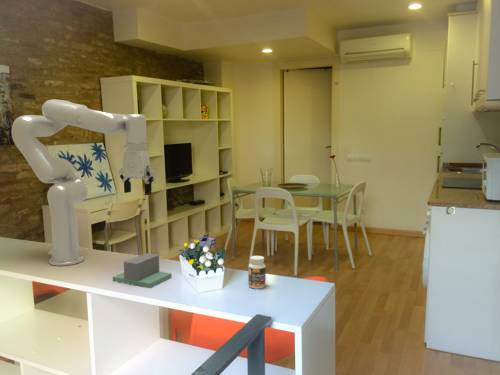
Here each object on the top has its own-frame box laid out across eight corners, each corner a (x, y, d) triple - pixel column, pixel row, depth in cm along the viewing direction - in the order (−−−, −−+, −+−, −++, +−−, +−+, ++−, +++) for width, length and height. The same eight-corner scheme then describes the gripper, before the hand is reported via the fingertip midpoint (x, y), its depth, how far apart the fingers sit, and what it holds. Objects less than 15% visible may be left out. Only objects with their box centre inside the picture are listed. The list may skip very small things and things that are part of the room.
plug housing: (137, 281, 148) (136, 263, 147) (123, 278, 150) (123, 261, 150) (159, 271, 159) (158, 255, 158) (146, 269, 161) (145, 253, 161)
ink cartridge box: (202, 277, 157) (202, 237, 155) (189, 275, 159) (188, 235, 158) (216, 269, 166) (216, 231, 164) (203, 267, 168) (203, 230, 167)
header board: (112, 281, 153) (112, 266, 152) (135, 271, 163) (135, 257, 163) (150, 288, 146) (149, 272, 145) (171, 277, 157) (171, 262, 156)
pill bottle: (252, 290, 144) (253, 260, 143) (245, 284, 149) (245, 256, 148) (268, 287, 147) (268, 258, 146) (260, 282, 152) (260, 254, 151)
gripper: (111, 147, 165) (113, 193, 167) (148, 148, 158) (150, 195, 160) (125, 147, 172) (126, 190, 174) (161, 147, 164) (162, 193, 166)
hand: (137, 193), depth 167 cm, fingers open, 9 cm apart
